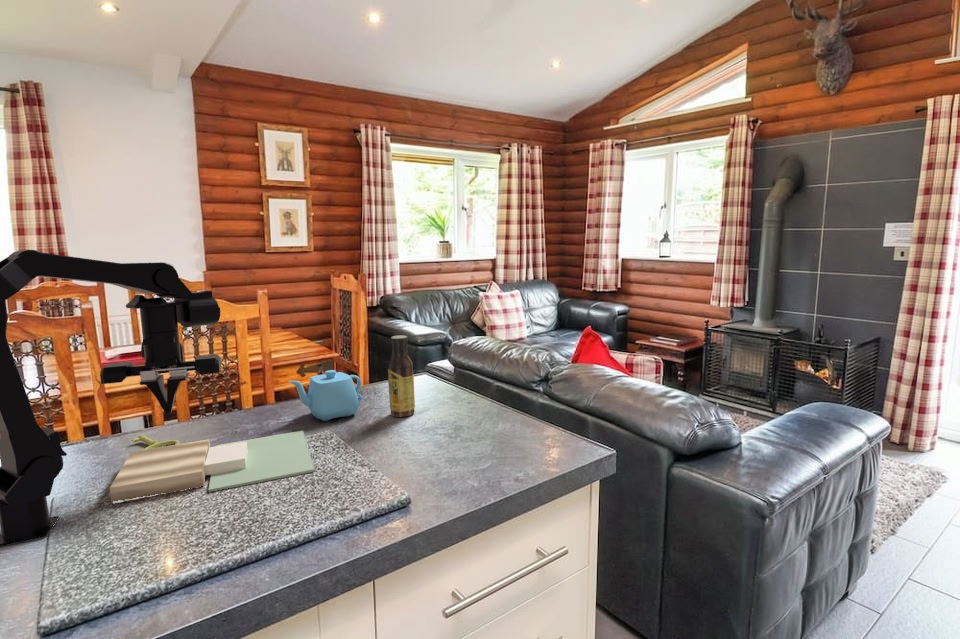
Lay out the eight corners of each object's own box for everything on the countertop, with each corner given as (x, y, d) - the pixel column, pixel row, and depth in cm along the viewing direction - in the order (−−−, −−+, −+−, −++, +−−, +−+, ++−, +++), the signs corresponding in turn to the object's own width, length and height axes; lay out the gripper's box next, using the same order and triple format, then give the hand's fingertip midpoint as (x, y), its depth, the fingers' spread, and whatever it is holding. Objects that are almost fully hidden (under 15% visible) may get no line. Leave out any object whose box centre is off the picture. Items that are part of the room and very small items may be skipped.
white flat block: (246, 468, 102) (244, 458, 102) (205, 475, 99) (204, 465, 99) (247, 450, 111) (246, 441, 111) (210, 456, 109) (209, 447, 108)
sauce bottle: (387, 413, 134) (382, 335, 131) (411, 408, 137) (406, 333, 134) (394, 420, 128) (389, 339, 125) (419, 415, 131) (414, 336, 128)
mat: (314, 471, 100) (314, 469, 100) (208, 492, 93) (208, 489, 93) (303, 432, 122) (303, 430, 122) (216, 447, 115) (216, 445, 115)
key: (142, 442, 122) (140, 433, 121) (185, 446, 118) (184, 437, 118) (113, 455, 115) (111, 445, 114) (157, 459, 111) (156, 449, 111)
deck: (203, 486, 96) (201, 471, 95) (112, 504, 90) (109, 488, 90) (210, 452, 112) (209, 439, 112) (133, 466, 107) (131, 451, 106)
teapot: (286, 416, 135) (282, 373, 133) (355, 403, 144) (351, 362, 142) (297, 430, 124) (293, 382, 123) (371, 414, 133) (367, 370, 132)
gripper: (219, 322, 108) (226, 397, 110) (111, 329, 101) (120, 409, 103) (215, 329, 98) (222, 411, 100) (95, 337, 91) (105, 425, 93)
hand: (168, 413), depth 99 cm, fingers closed
